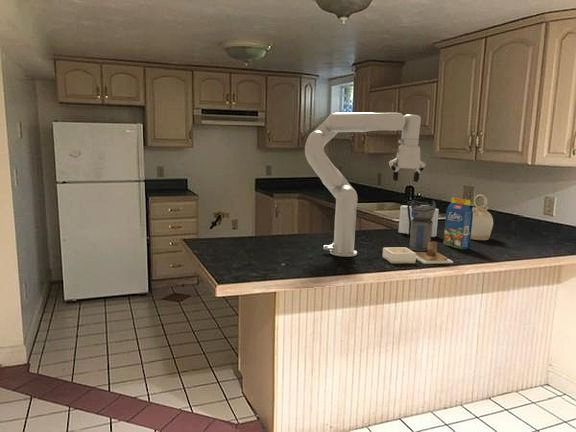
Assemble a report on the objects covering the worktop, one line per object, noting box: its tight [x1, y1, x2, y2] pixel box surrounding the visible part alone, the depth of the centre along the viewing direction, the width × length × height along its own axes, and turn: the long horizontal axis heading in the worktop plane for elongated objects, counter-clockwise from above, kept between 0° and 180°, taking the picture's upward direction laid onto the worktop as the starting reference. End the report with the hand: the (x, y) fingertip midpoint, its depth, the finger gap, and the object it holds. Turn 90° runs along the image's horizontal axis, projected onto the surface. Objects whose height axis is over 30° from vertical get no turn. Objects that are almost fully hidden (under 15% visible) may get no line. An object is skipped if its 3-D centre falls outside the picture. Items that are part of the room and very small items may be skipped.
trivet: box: [416, 255, 454, 265], centre depth 212 cm, size 14×14×1 cm
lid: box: [415, 240, 449, 261], centre depth 211 cm, size 10×10×7 cm
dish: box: [382, 246, 417, 264], centre depth 208 cm, size 11×11×4 cm
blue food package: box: [442, 197, 473, 250], centre depth 238 cm, size 6×12×25 cm, turn 28°
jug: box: [471, 194, 494, 241], centre depth 261 cm, size 15×16×25 cm
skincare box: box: [398, 205, 440, 238], centre depth 267 cm, size 21×6×16 cm, turn 58°
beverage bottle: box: [406, 200, 437, 252], centre depth 228 cm, size 10×13×25 cm
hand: (405, 181), depth 210 cm, fingers open, 9 cm apart
